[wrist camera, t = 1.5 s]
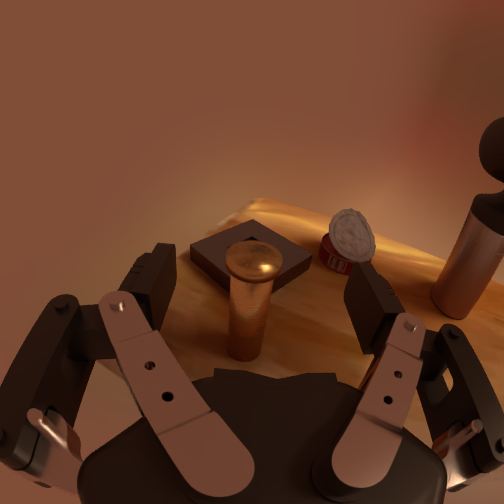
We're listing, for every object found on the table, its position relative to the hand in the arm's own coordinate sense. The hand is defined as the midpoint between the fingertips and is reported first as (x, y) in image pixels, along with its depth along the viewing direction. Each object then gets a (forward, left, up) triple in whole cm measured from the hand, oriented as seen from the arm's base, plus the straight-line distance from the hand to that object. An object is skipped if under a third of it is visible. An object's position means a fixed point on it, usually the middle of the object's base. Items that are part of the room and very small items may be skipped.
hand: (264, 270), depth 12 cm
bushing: (-7, -7, -21) cm, 23 cm away
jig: (-19, -19, -21) cm, 34 cm away
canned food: (-34, -9, -21) cm, 42 cm away
